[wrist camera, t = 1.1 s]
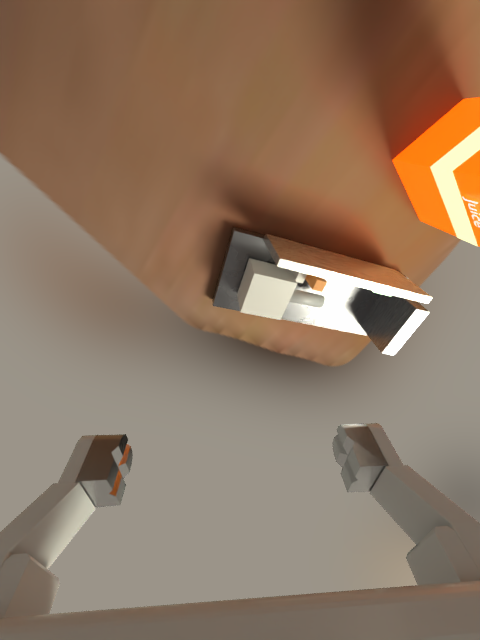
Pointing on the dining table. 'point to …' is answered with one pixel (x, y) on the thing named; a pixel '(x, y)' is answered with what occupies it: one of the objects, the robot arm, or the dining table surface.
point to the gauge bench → (331, 289)
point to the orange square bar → (316, 282)
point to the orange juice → (446, 172)
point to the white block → (272, 290)
